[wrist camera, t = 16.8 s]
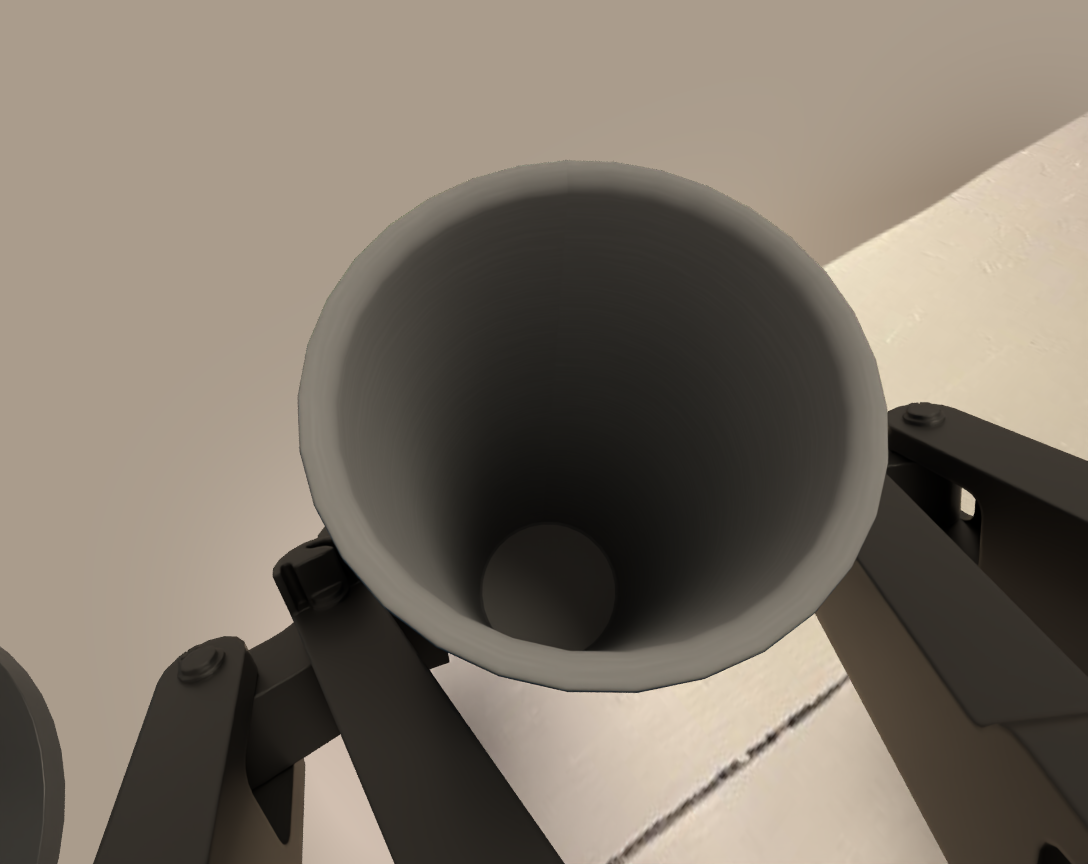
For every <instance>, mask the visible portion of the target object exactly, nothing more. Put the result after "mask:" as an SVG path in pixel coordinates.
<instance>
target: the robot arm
mask: <svg viewBox="0 0 1088 864" xmlns="http://www.w3.org/2000/svg"><path fill="white" fill-rule="evenodd" d="M887 418H888V465H887V469H886V474H885V479H884V483H883V488H882V493H881V497H880V502H879V507H878V511H877V516H876V518H875V520H874V522H873V524H872V526H871V528H870V531H869V533H868V535H867V537H866V539H865V541H864V543H863V545H862V547H861V549H860V551H859V553H858V556H857V558H856V560H855V562H854V564H853V566H852V568H851V569H850V570H849V572H848V573H847V574H846V575H845V577H844V578H843V579H842V580H841V581H840V583H839V584H838V585H837V586H836V588H835V589H834V590H833V591H832V592H831V594H830V595H829V596H828V597H827V599H826V600H825V601H824V602H823V604H822V605H821V606H820V607H819V608H818V610H817V611H816V612H815V614H816V616H817V618H818V620H819V622H820V624H821V625H822V627H823V629H824V631H825V633H826V635H827V637H828V639H829V640H830V642H831V644H832V646H833V648H834V650H835V652H836V654H837V655H838V657H839V659H840V661H841V663H842V665H843V667H844V669H845V670H846V672H847V674H848V676H849V678H850V680H851V682H852V684H853V685H854V687H855V689H856V691H857V693H858V695H859V697H860V699H861V700H862V702H863V704H864V706H865V708H866V710H867V712H868V714H869V716H870V717H871V719H872V721H873V723H874V725H875V727H876V729H877V731H878V732H879V734H880V736H881V738H882V740H883V742H884V744H885V746H886V747H887V749H888V751H889V753H890V755H891V757H892V759H893V761H894V762H895V764H896V766H897V768H898V770H899V772H900V774H901V776H902V777H903V779H904V781H905V783H906V785H907V787H908V789H909V791H910V792H911V794H912V796H913V798H914V800H915V802H916V804H917V806H918V807H919V809H920V811H921V813H922V815H923V817H924V819H925V821H926V822H927V824H928V826H929V828H930V830H931V832H932V834H933V836H934V838H935V839H936V841H937V843H938V845H939V847H940V849H941V851H942V853H943V854H944V856H945V858H946V860H947V862H948V864H1088V461H1086V460H1084V459H1081V458H1079V457H1076V456H1073V455H1071V454H1068V453H1066V452H1063V451H1061V450H1058V449H1056V448H1053V447H1051V446H1048V445H1046V444H1043V443H1041V442H1038V441H1036V440H1033V439H1031V438H1028V437H1026V436H1023V435H1020V434H1018V433H1015V432H1013V431H1010V430H1008V429H1005V428H1003V427H1000V426H998V425H995V424H993V423H990V422H988V421H985V420H983V419H980V418H978V417H975V416H973V415H970V414H967V413H965V412H962V411H960V410H957V409H955V408H951V407H948V406H944V405H937V404H931V403H928V402H920V404H919V403H911V404H909V405H905V406H900V407H897V408H895V409H892V410H890V411H888V413H887ZM962 488H964V489H965V490H967V491H968V492H969V493H971V494H972V495H973V497H974V498H975V499H976V501H975V513H974V516H971V515H968V514H967V513H965V512H963V511H961V491H962ZM273 578H274V580H275V583H276V585H277V587H278V589H279V591H280V593H281V595H282V597H283V599H284V602H285V604H286V606H287V608H288V610H289V612H290V615H291V617H292V619H293V621H294V623H292V624H291V625H290V626H289V627H287V628H286V629H285V630H284V631H282V632H280V633H279V634H277V635H276V636H274V637H272V638H271V639H269V640H267V641H265V642H263V643H261V644H259V645H258V646H256V647H254V648H252V649H250V650H248V648H247V646H246V644H245V642H244V641H243V640H241V639H239V638H238V637H231V636H224V637H220V638H216V639H212V640H209V641H207V642H204V643H203V644H200V645H196V646H194V647H193V648H191V649H189V650H188V652H185V653H184V654H182V655H181V656H179V657H178V658H177V659H176V660H175V661H174V662H173V663H172V664H171V665H170V666H169V667H168V668H167V669H166V670H165V671H164V673H163V674H162V676H161V678H160V679H159V681H158V683H157V685H156V688H155V691H154V694H153V697H152V700H151V702H150V705H149V708H148V711H147V714H146V716H145V719H144V723H143V725H142V728H141V731H140V733H139V736H138V739H137V742H136V745H135V747H134V750H133V753H132V756H131V759H130V762H129V764H128V767H127V770H126V773H125V776H124V778H123V781H122V784H121V787H120V790H119V793H118V795H117V798H116V801H115V804H114V807H113V810H112V812H111V815H110V818H109V821H108V824H107V827H106V829H105V832H104V835H103V838H102V840H101V843H100V846H99V849H98V852H97V855H96V857H95V860H94V863H93V864H302V844H303V843H302V842H303V815H304V786H305V785H304V784H305V762H304V757H306V756H307V755H309V754H311V753H312V752H314V751H315V750H317V749H318V748H320V747H321V746H323V745H325V744H326V743H328V742H329V741H331V740H332V739H334V738H335V737H337V736H338V735H340V734H341V737H342V739H343V741H344V744H345V746H346V749H347V751H348V753H349V756H350V758H351V761H352V763H353V765H354V767H355V770H356V772H357V775H358V777H359V779H360V782H361V784H362V787H363V789H364V792H365V794H366V796H367V799H368V801H369V804H370V806H371V808H372V811H373V813H374V816H375V818H376V820H377V823H378V825H379V828H380V830H381V832H382V835H383V837H384V840H385V842H386V844H387V847H388V849H389V852H390V854H391V856H392V859H393V861H394V864H564V862H563V861H562V859H561V858H560V856H559V855H558V854H557V852H556V851H555V849H554V848H553V846H552V845H551V844H550V842H549V841H548V839H547V838H546V836H545V835H544V833H543V832H542V831H541V829H540V828H539V826H538V825H537V823H536V822H535V821H534V819H533V818H532V816H531V815H530V813H529V812H528V811H527V809H526V808H525V806H524V805H523V803H522V802H521V801H520V799H519V798H518V796H517V795H516V793H515V792H514V790H513V789H512V788H511V786H510V785H509V783H508V782H507V780H506V779H505V778H504V776H503V775H502V773H501V772H500V770H499V769H498V768H497V766H496V765H495V763H494V762H493V760H492V759H491V758H490V756H489V755H488V753H487V752H486V750H485V749H484V747H483V746H482V745H481V743H480V742H479V740H478V739H477V737H476V736H475V735H474V733H473V732H472V730H471V729H470V727H469V726H468V725H467V723H466V722H465V720H464V719H463V717H462V716H461V715H460V713H459V712H458V710H457V709H456V707H455V706H454V704H453V703H452V702H451V700H450V699H449V697H448V696H447V694H446V693H445V692H444V690H443V689H442V687H441V686H440V684H439V683H438V682H437V680H436V679H435V677H434V676H433V674H432V673H431V672H430V670H429V669H432V668H435V667H437V666H440V665H443V664H446V663H449V656H448V652H446V651H443V650H441V649H439V648H437V647H436V646H434V645H433V644H432V643H430V642H429V641H428V640H426V639H425V638H424V637H422V636H421V635H420V634H418V633H417V632H416V631H414V630H413V629H412V628H410V627H409V626H408V625H406V624H405V623H404V622H402V621H401V620H400V619H398V618H397V617H396V616H395V615H393V614H392V613H391V612H389V611H388V610H387V609H385V608H384V607H383V606H382V605H381V604H380V602H379V601H378V600H377V599H376V598H375V597H374V595H373V594H372V593H371V592H370V591H369V590H368V588H367V587H366V586H365V585H364V584H363V583H362V581H361V580H360V579H359V578H358V577H357V576H356V574H355V573H354V572H353V571H352V570H351V569H350V567H349V566H348V565H347V564H346V563H345V562H344V560H343V559H342V557H341V556H340V554H339V552H338V550H337V548H336V546H335V544H334V542H333V540H332V539H331V537H330V535H329V533H328V531H327V529H326V527H324V528H323V530H322V531H321V532H320V534H319V535H318V538H316V539H314V540H311V541H308V542H306V543H303V544H301V545H300V546H298V547H296V548H294V549H292V550H291V551H289V552H288V553H287V554H286V555H285V556H283V557H282V558H281V559H280V560H279V561H278V562H277V564H276V565H275V567H274V568H273Z"/></svg>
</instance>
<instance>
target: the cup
mask: <svg viewBox="0 0 1088 864" xmlns="http://www.w3.org/2000/svg"><path fill="white" fill-rule="evenodd" d="M298 421H299V445H300V446H299V449H300V455H301V458H302V462H303V466H304V469H305V473H306V477H307V481H308V484H309V488H310V492H311V496H312V499H313V503H314V506H315V508H316V510H317V512H318V514H319V516H320V518H321V520H322V522H323V523H324V525H325V527H326V529H327V531H328V533H329V535H330V537H331V539H332V540H333V542H334V544H335V546H336V548H337V550H338V552H339V554H340V556H341V557H342V559H343V560H344V562H345V563H346V564H347V565H348V566H349V567H350V569H351V570H352V571H353V572H354V573H355V574H356V576H357V577H358V578H359V579H360V580H361V581H362V583H363V584H364V585H365V586H366V587H367V588H368V590H369V591H370V592H371V593H372V594H373V595H374V597H375V598H376V599H377V600H378V601H379V602H380V604H381V605H382V606H383V607H384V608H385V609H387V610H388V611H389V612H391V613H392V614H393V615H395V616H396V617H397V618H398V619H400V620H401V621H402V622H404V623H405V624H406V625H408V626H409V627H410V628H412V629H413V630H414V631H416V632H417V633H418V634H420V635H421V636H422V637H424V638H425V639H426V640H428V641H429V642H430V643H432V644H433V645H434V646H436V647H437V648H439V649H441V650H443V651H446V652H448V653H450V654H452V655H454V656H456V657H459V658H461V659H463V660H465V661H467V662H469V663H471V664H474V665H476V666H478V667H480V668H482V669H484V670H487V671H489V672H491V673H493V674H495V675H497V676H500V677H504V678H509V679H513V680H517V681H522V682H526V683H531V684H535V685H539V686H544V687H548V688H553V689H557V690H561V691H566V692H614V693H639V692H644V691H649V690H653V689H658V688H663V687H668V686H673V685H678V684H683V683H687V682H692V681H697V680H702V679H706V678H708V677H710V676H712V675H714V674H717V673H719V672H721V671H723V670H725V669H728V668H730V667H732V666H734V665H736V664H739V663H741V662H743V661H745V660H748V659H750V658H752V657H754V656H756V655H759V654H761V653H763V652H765V651H766V650H767V649H769V648H770V647H771V646H773V645H774V644H775V643H777V642H778V641H779V640H781V639H782V638H783V637H784V636H786V635H787V634H788V633H790V632H791V631H792V630H794V629H795V628H796V627H798V626H799V625H800V624H801V623H803V622H804V621H805V620H807V619H808V618H809V617H811V616H812V615H813V614H814V613H815V612H816V611H817V610H818V608H819V607H820V606H821V605H822V604H823V602H824V601H825V600H826V599H827V597H828V596H829V595H830V594H831V592H832V591H833V590H834V589H835V588H836V586H837V585H838V584H839V583H840V581H841V580H842V579H843V578H844V577H845V575H846V574H847V573H848V572H849V570H850V569H851V568H852V566H853V564H854V562H855V560H856V558H857V556H858V553H859V551H860V549H861V547H862V545H863V543H864V541H865V539H866V537H867V535H868V533H869V531H870V528H871V526H872V524H873V522H874V520H875V518H876V516H877V511H878V507H879V502H880V497H881V493H882V488H883V483H884V479H885V474H886V469H887V465H888V418H887V406H886V401H885V397H884V393H883V388H882V384H881V380H880V375H879V371H878V367H877V362H876V359H875V356H874V354H873V352H872V350H871V348H870V345H869V343H868V341H867V339H866V337H865V334H864V332H863V330H862V328H861V326H860V323H859V321H858V319H857V317H856V315H855V313H854V311H853V310H852V308H851V307H850V305H849V304H848V303H847V301H846V300H845V298H844V297H843V295H842V294H841V293H840V291H839V290H838V288H837V287H836V285H835V284H834V283H833V281H832V280H831V278H830V277H829V275H828V274H827V273H826V271H825V270H824V269H823V268H822V267H821V266H820V265H819V264H817V263H816V261H814V259H813V258H812V257H811V256H810V255H809V254H808V253H807V252H805V250H804V249H803V248H802V247H801V246H800V245H798V243H796V241H795V240H794V239H793V238H792V237H791V236H789V235H787V234H786V233H785V232H784V231H782V230H781V229H779V228H778V227H777V226H775V225H774V224H772V223H771V222H770V221H768V220H767V219H766V218H764V217H763V216H762V215H760V214H759V213H757V212H756V211H755V210H753V209H752V208H750V207H748V206H746V205H744V204H742V203H740V202H738V201H736V200H734V199H732V198H731V197H728V196H726V195H725V194H723V193H721V192H719V191H717V190H715V189H713V188H711V187H709V186H707V185H704V184H700V183H698V182H695V181H692V180H689V179H686V178H683V177H680V176H677V175H674V174H671V173H668V172H665V171H662V170H657V169H650V168H645V167H640V166H634V165H629V164H623V163H617V162H602V161H601V162H600V161H570V160H569V161H568V160H565V161H557V162H548V163H539V164H531V165H522V166H516V167H513V168H509V169H505V170H501V171H498V172H495V173H491V174H487V175H484V176H480V177H476V178H472V179H470V180H468V181H466V182H464V183H461V184H459V185H457V186H455V187H453V188H450V189H448V190H446V191H444V192H442V193H439V194H437V195H435V196H433V197H431V198H429V199H427V200H426V201H424V202H423V203H421V204H420V205H418V206H417V207H415V208H414V209H412V210H411V211H409V212H408V213H406V214H405V215H403V217H401V218H399V219H398V220H396V221H395V222H393V223H392V224H390V225H389V226H388V227H387V228H386V229H385V230H384V231H383V232H382V233H381V234H380V235H379V236H378V237H377V238H376V239H375V240H374V241H373V242H371V243H370V244H369V245H368V246H367V248H365V249H364V250H363V251H362V253H361V254H359V255H358V256H357V257H356V258H355V259H354V261H353V262H352V263H351V265H350V266H349V268H348V269H347V271H346V272H345V274H344V275H343V277H342V278H341V279H340V281H339V282H338V284H337V285H336V287H335V288H334V290H333V291H332V292H331V294H330V295H329V297H328V298H327V300H326V303H325V305H324V307H323V309H322V312H321V314H320V317H319V319H318V321H317V324H316V326H315V328H314V331H313V333H312V335H311V338H310V340H309V342H308V345H307V350H306V355H305V360H304V366H303V371H302V376H301V382H300V387H299V393H298Z"/></svg>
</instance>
